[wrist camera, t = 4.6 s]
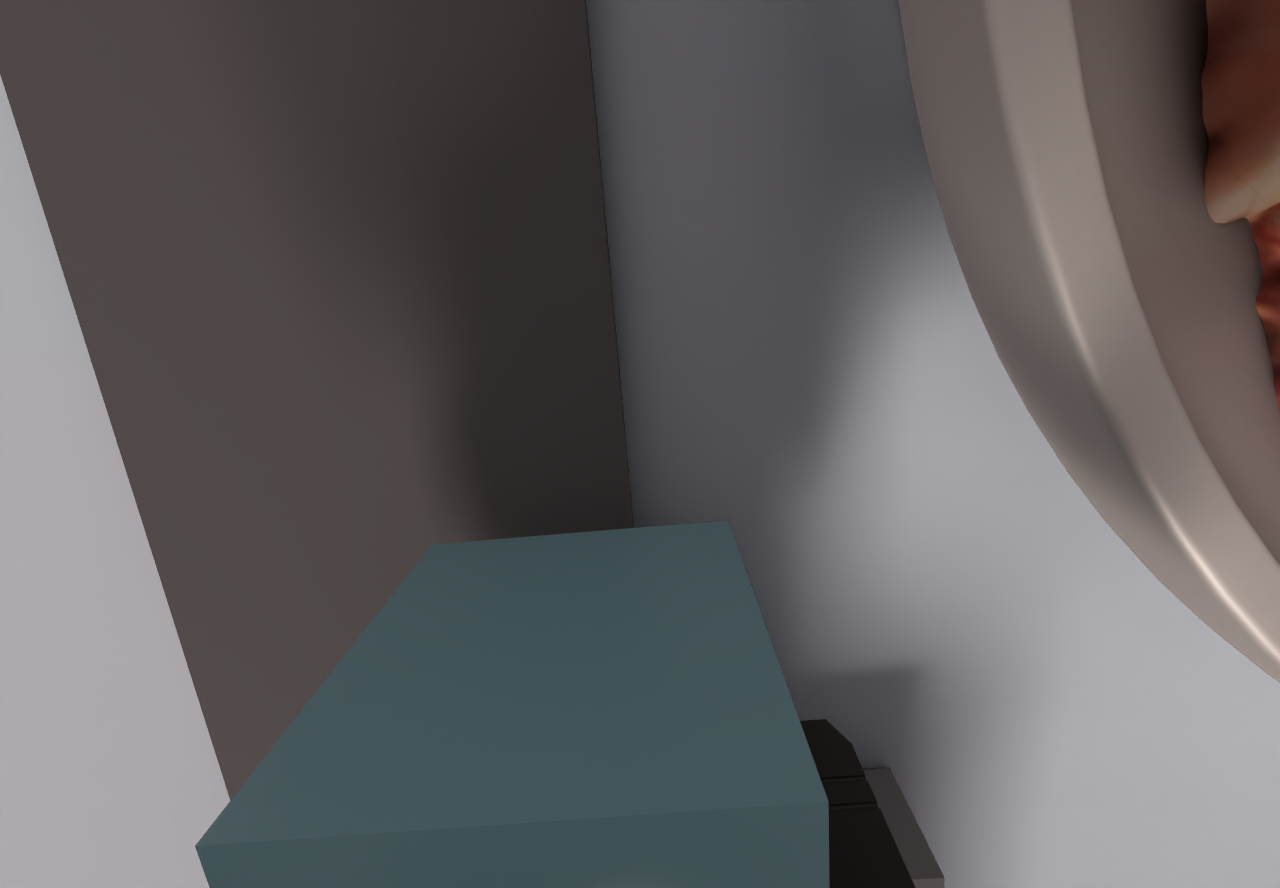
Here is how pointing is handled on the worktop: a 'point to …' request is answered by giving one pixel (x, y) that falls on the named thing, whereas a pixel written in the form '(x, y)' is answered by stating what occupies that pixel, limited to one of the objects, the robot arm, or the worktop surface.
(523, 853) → the teal rectangular slab
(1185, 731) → the worktop surface
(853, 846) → the robot arm
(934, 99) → the bowl
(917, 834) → the dispenser
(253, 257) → the mat
